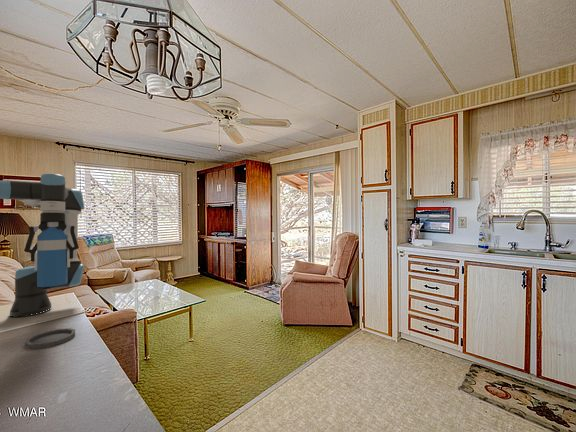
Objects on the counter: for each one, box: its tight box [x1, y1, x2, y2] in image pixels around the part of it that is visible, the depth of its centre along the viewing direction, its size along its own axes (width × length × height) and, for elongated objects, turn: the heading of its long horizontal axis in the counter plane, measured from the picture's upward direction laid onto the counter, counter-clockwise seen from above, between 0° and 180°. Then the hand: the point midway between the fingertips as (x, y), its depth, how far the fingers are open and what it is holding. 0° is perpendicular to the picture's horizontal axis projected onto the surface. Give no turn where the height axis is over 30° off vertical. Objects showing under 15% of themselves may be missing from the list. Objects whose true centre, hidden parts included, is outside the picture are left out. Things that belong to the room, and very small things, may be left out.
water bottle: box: [36, 222, 68, 287], centre depth 106 cm, size 9×9×25 cm
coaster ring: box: [24, 327, 76, 350], centre depth 101 cm, size 14×14×2 cm
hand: (52, 268), depth 106 cm, fingers closed on water bottle, 9 cm apart
